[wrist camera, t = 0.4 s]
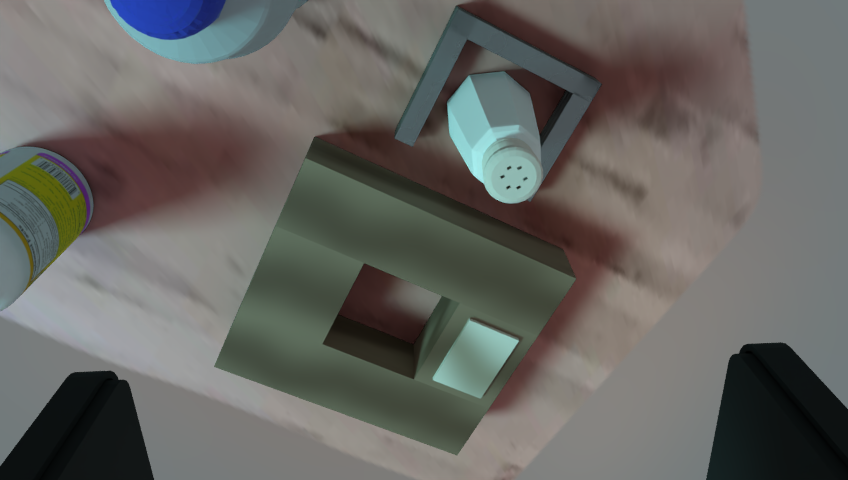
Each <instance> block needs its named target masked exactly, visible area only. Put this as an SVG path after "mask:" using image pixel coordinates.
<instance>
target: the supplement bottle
mask: <svg viewBox="0 0 848 480" xmlns="http://www.w3.org/2000/svg"><path fill="white" fill-rule="evenodd" d="M92 213H93V197H92V193H91V190H90V187H89V185H88V183H87V181H86V179H85V178H84V176H83V175H82V173H81V172H80V171H79V170H78V169H77V168H76V167H75V166H74V165H73V164H72V163H71V162H69V161H68V160H67V159H65V158H64V157H62V156H60V155H58V154H56V153H54V152H52V151H49V150H46V149H42V148H37V147H17V148H13V149H9V150H6V151H4V152H2V153H0V311H2V310H4V309H5V308H7V307H8V306H10V305H11V304H12V303H13V302H14V301H15V300H16V299H18V298H19V297H20V296H21V295H22V294H23V292H24V291H25V290H26V289H27V288H28V287H29V286H30V285H31V284H32V283H33V282H34V281H35V280H36V279H37V278H38V277H39V276H40V275H41V274H42V273H43V272H44V271H45V270H46V269H47V268H48V267H49V266H50V265H51V264H52V263H53V262H54V261H55V260H56V259H57V258H58V257H59V256H60V255H61V254H62V253H63V252H64V251H65V250H66V249H67V248H68V247H69V246H70V245H71V244H72V243H73V242H74V241H75V240H76V238H77V237H78V236H79V235H80V234H81V233H82V232H83V231H84V230H85V229H86V227H87V226H88V224H89V222H90V220H91V217H92Z"/></svg>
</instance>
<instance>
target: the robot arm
mask: <svg viewBox="0 0 848 480" xmlns="http://www.w3.org/2000/svg"><path fill="white" fill-rule="evenodd" d="M0 480H154V478H153V474H152V470H151V466H150V462H149V458H148V455H147V451H146V447H145V443H144V439H143V436H142V432H141V428H140V424H139V420H138V416H137V412H136V409H135V405H134V401H133V397H132V393H131V389H130V387H129V384H128V382H127V381H126V380H118V377H117V376H116V374H115V373H114V372H112V371H93V372H75V373H72V374H70V375H69V376H68V377H67V378H66V379H65V381H64V382H63V383H62V385H61V386H60V387H59V389H58V390H57V391H56V393H55V394H54V395H53V397H52V398H51V399H50V401H49V402H48V403H47V405H46V406H45V407H44V409H43V410H42V411H41V413H40V414H39V416H38V417H37V418H36V419H35V421H34V422H33V423H32V425H31V426H30V427H29V429H28V430H27V431H26V433H25V434H24V436H23V437H22V438H21V439H20V441H19V442H18V443H17V445H16V446H15V447H14V449H13V450H12V451H11V453H10V454H9V455H8V457H7V458H6V459H5V461H4V462H3V463H2V465H1V466H0ZM706 480H848V409H847V408H846V407H845V406H844V405H843V404H842V403H841V401H840V400H839V399H838V398H837V397H836V396H835V395H834V394H833V393H832V392H831V391H830V390H829V388H828V387H827V386H826V385H825V384H824V383H823V382H822V381H821V380H820V379H819V378H818V377H817V376H816V374H815V373H814V372H813V371H812V370H811V369H810V368H809V367H808V366H807V365H806V364H805V363H804V361H803V360H802V359H801V358H800V357H799V356H798V355H797V354H796V353H795V352H794V351H793V350H792V349H791V348H790V347H789V346H788V345H787V344H785V343H761V344H746V345H744V346H743V347H742V348H741V350H740V353H739V354H734V355H732V356H731V357H730V360H729V363H728V369H727V374H726V379H725V384H724V390H723V394H722V400H721V405H720V410H719V415H718V421H717V426H716V431H715V437H714V442H713V447H712V452H711V458H710V463H709V468H708V473H707V478H706Z"/></svg>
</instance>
